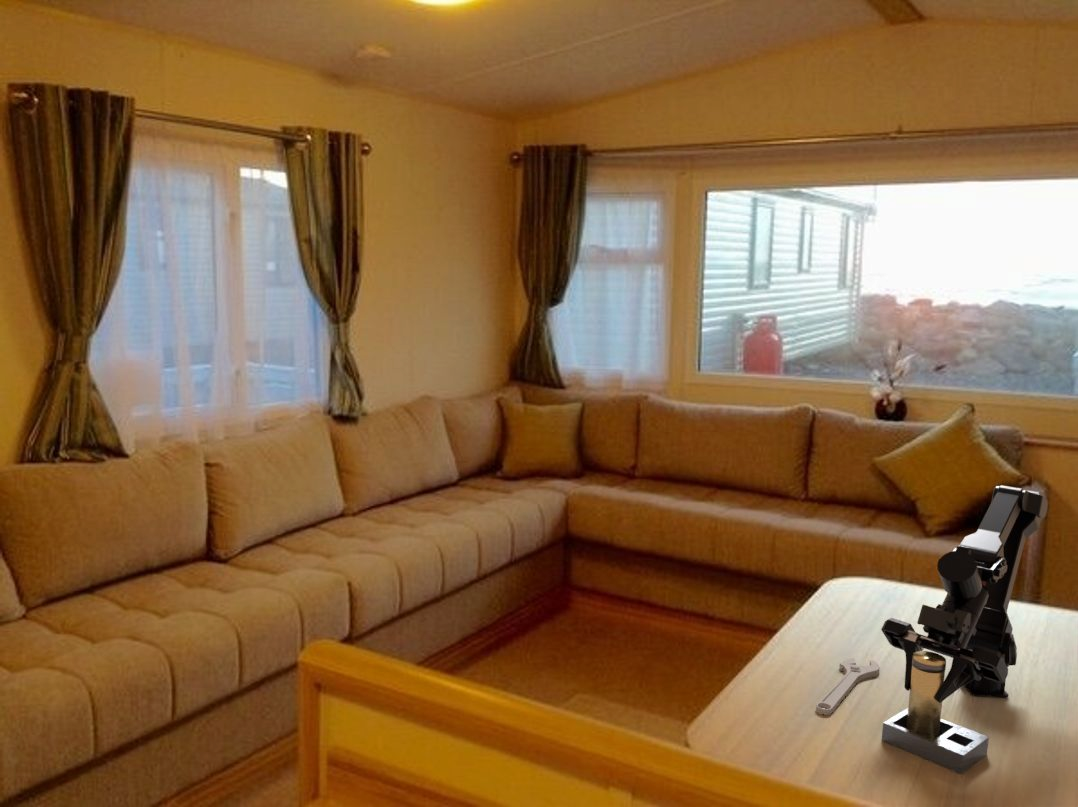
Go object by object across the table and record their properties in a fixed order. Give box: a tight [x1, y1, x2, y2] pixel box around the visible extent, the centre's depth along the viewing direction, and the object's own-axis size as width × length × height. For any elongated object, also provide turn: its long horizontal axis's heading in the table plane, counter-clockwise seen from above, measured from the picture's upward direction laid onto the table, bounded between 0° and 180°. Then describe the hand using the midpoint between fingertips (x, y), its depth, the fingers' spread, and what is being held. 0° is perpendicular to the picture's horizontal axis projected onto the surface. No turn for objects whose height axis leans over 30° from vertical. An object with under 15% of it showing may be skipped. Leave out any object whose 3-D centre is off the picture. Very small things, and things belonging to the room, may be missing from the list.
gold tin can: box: [907, 650, 947, 740], centre depth 146 cm, size 5×5×12 cm
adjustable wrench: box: [815, 657, 881, 716], centre depth 166 cm, size 25×6×2 cm, turn 140°
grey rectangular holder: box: [881, 707, 990, 775], centre depth 146 cm, size 13×9×3 cm
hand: (922, 695), depth 145 cm, fingers closed on gold tin can, 5 cm apart
